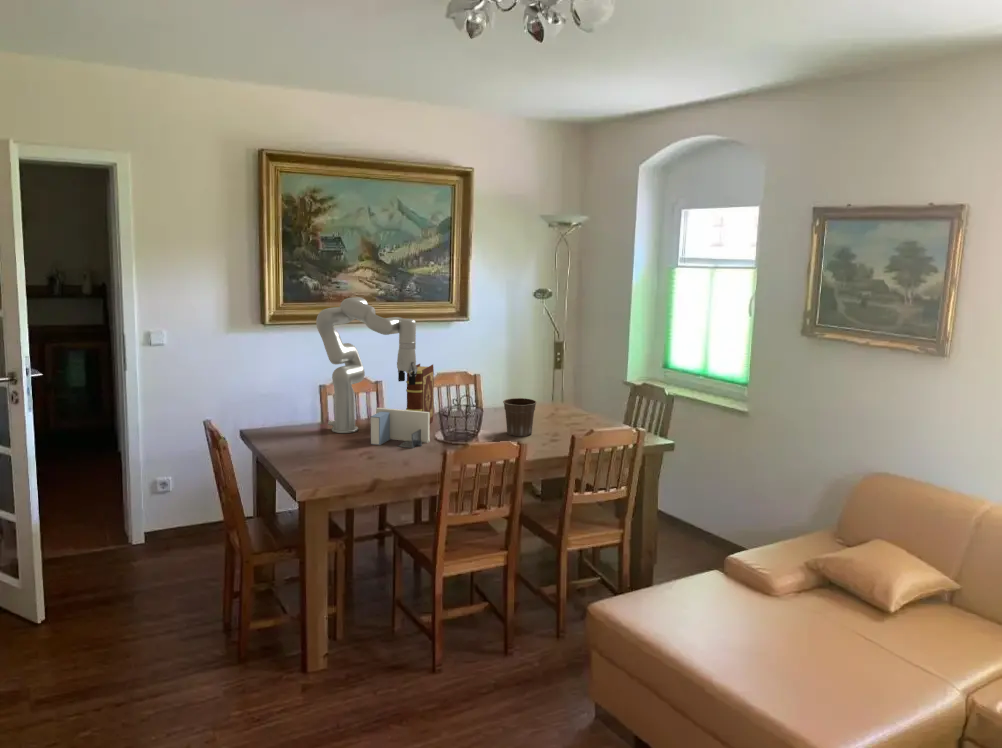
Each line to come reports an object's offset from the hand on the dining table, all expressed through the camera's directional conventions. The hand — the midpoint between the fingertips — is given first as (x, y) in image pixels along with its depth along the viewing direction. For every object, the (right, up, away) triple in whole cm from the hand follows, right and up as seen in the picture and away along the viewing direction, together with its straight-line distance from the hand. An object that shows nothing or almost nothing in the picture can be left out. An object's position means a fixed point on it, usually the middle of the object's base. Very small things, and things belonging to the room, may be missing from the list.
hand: (406, 382), depth 355 cm
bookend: (+3, -28, -3) cm, 29 cm away
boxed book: (-12, -27, +1) cm, 30 cm away
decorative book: (+2, -22, +33) cm, 40 cm away
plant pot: (+52, -25, +22) cm, 62 cm away
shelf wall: (-3, -27, +6) cm, 27 cm away
